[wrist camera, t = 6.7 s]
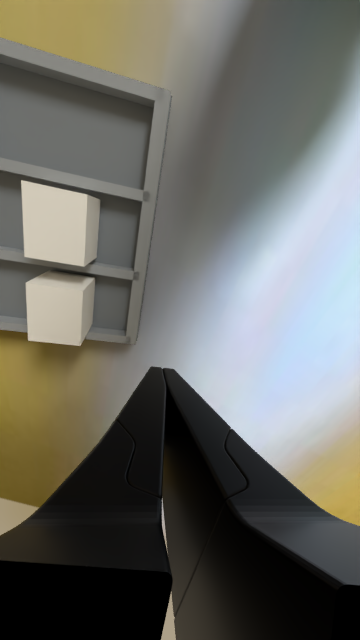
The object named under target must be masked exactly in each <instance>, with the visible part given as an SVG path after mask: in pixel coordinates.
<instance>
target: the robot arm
mask: <svg viewBox="0 0 360 640" xmlns="http://www.w3.org/2000/svg"><path fill="white" fill-rule="evenodd" d="M162 498H163V508H164V519H165V529H166V539H167V549H166V545H165V540H164V535H163V530H162ZM167 550H168V554H167ZM171 591H172V601H173V612H174V617H175V620H174V623H175V634H176V640H360V526H358V525H355V524H352V523H349V522H346V521H343V520H341V519H339V518H337V517H335V516H333V515H331V514H330V513H328V512H326V511H325V510H323V509H322V508H320V507H319V506H317V505H316V504H315V503H314V502H313V501H311V500H310V499H309V498H308V497H307V496H305V495H304V494H303V493H302V492H301V491H300V490H299V489H297V488H296V487H295V486H294V485H293V484H292V483H291V482H289V481H288V480H287V479H286V478H285V477H284V476H283V475H281V474H280V473H279V472H278V471H277V470H276V469H274V468H273V467H272V466H271V465H270V464H269V463H268V462H267V461H265V460H264V459H263V458H262V457H261V456H260V455H259V454H258V453H257V452H255V451H254V450H253V449H252V448H251V447H250V446H249V445H248V444H247V443H246V442H245V441H244V440H243V439H242V438H241V437H240V436H239V435H238V434H237V433H236V432H235V431H234V430H233V429H231V427H230V426H229V425H228V424H227V423H226V422H225V421H224V420H223V419H222V418H221V417H220V416H219V415H218V414H217V413H216V412H215V411H214V410H213V409H212V408H211V407H210V406H209V405H208V404H207V403H206V402H205V400H204V399H203V398H202V397H201V396H200V395H199V394H198V393H197V392H196V391H195V390H194V389H193V388H192V387H191V386H190V385H189V384H188V383H187V382H186V381H185V380H184V379H183V378H182V377H181V376H180V375H179V374H178V373H177V372H176V371H175V370H174V369H169V368H163V369H162V368H161V367H150V369H149V370H148V372H147V373H146V375H145V376H144V378H143V379H142V381H141V382H140V384H139V385H138V387H137V388H136V389H135V391H134V392H133V394H132V395H131V397H130V398H129V400H128V401H127V403H126V404H125V406H124V407H123V409H122V410H121V412H120V413H119V415H118V416H117V418H116V419H115V421H114V422H113V423H112V425H111V426H110V428H109V429H108V431H107V432H106V433H105V435H104V436H103V437H102V439H101V440H100V441H99V443H98V444H97V445H96V446H95V447H94V448H93V450H92V451H91V452H90V453H89V454H88V456H87V457H86V458H85V459H84V460H83V461H82V462H81V463H80V464H79V465H78V467H77V468H76V469H75V470H74V471H73V472H72V473H71V474H70V475H69V476H68V478H67V479H66V480H65V481H64V482H63V483H62V484H61V485H60V486H59V487H58V489H57V490H56V491H55V492H54V493H53V494H52V495H51V496H50V497H49V498H48V499H47V500H46V502H45V503H44V504H43V505H42V506H41V507H40V508H39V509H38V510H37V511H35V513H33V514H32V515H31V516H30V517H29V518H27V519H26V520H25V521H23V522H22V523H21V524H19V525H18V526H16V527H15V528H13V529H11V530H10V531H8V532H6V533H4V534H2V535H1V536H0V640H161V636H162V631H163V626H164V622H165V617H166V612H167V608H168V603H169V598H170V594H171Z"/></svg>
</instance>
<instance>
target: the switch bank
mask: <svg viewBox="0 0 360 640" xmlns="http://www.w3.org/2000/svg"><path fill="white" fill-rule="evenodd" d="M171 100H172V96H171V91H169V90H166V89H163V88H160V87H157V86H153V85H150V84H147V83H144V82H141V81H137V80H134V79H131V78H128V77H125V76H122V75H118V74H115V73H112V72H109V71H106V70H102V69H99V68H96V67H93V66H90V65H86V64H83V63H80V62H77V61H74V60H71V59H67V58H64V57H61V56H58V55H55V54H51V53H48V52H45V51H42V50H39V49H35V48H32V47H29V46H26V45H23V44H20V43H16V42H13V41H10V40H7V39H4V38H0V330H9V331H18V332H27V333H28V327H27V304H26V282H28V281H30V280H32V279H34V278H35V277H37V276H39V275H41V274H43V273H45V272H47V271H49V270H52V271H58V272H65V273H71V274H77V275H84V276H90V277H95V291H94V307H93V322H92V325H91V327H90V329H89V331H88V333H87V335H86V336H85V338H84V339H89V340H98V341H107V342H116V343H125V344H134V345H135V344H136V341H137V337H138V330H139V323H140V316H141V309H142V302H143V295H144V289H145V282H146V275H147V268H148V261H149V254H150V247H151V240H152V233H153V226H154V219H155V212H156V205H157V198H158V191H159V184H160V177H161V170H162V163H163V156H164V149H165V142H166V135H167V128H168V121H169V114H170V107H171ZM21 180H23V181H27V182H32V183H37V184H41V185H46V186H50V187H55V188H59V189H64V190H69V191H73V192H78V193H82V194H87V195H90V196H92V197H95V198H97V199H100V214H99V230H98V245H97V258H95V259H94V260H92V261H91V262H90V263H88V264H87V265H86V266H84V267H83V266H77V265H71V264H65V263H59V262H53V261H46V260H40V259H34V258H28V257H24V235H23V212H22V189H21Z"/></svg>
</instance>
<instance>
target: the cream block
mask: <svg viewBox="0 0 360 640" xmlns="http://www.w3.org/2000/svg"><path fill="white" fill-rule="evenodd" d="M94 291H95V277H90V276H84V275H77V274H71V273H65V272H58V271H52V270H49V271H47V272H45V273H43V274H41V275H39V276H37V277H35V278H34V279H32V280H30V281H28V282H26V304H27V327H28V341H38V342H47V343H56V344H66V345H75V346H81V344H82V342H83V340H84V338H85V336H86V335H87V333H88V331H89V329H90V327H91V325H92V322H93V307H94Z"/></svg>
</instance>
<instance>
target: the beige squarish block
mask: <svg viewBox="0 0 360 640" xmlns="http://www.w3.org/2000/svg"><path fill="white" fill-rule="evenodd" d="M21 189H22V212H23V235H24V257H28V258H34V259H40V260H46V261H53V262H59V263H65V264H71V265H77V266H83V267H84V266H86V265H87V264H88V263H90V262H91V261H92V260H94V259H95V258H97V245H98V230H99V214H100V199H97V198H95V197H92V196H90V195H87V194H82V193H78V192H73V191H69V190H64V189H59V188H55V187H50V186H46V185H41V184H37V183H32V182H27V181H23V180H21Z"/></svg>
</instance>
